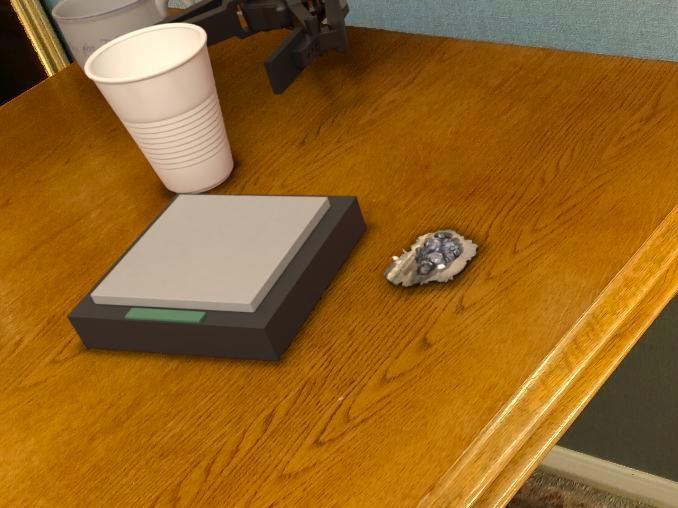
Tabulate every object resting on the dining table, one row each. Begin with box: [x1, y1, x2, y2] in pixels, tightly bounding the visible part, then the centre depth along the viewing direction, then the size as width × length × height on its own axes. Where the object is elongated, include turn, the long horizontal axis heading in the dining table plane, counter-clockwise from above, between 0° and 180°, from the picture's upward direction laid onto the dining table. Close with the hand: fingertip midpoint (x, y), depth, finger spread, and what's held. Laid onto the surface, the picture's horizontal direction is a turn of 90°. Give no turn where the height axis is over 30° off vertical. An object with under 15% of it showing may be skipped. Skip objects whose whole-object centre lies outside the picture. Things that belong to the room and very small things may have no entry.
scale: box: [66, 192, 367, 362], centre depth 74 cm, size 16×16×4 cm
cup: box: [84, 23, 234, 194], centre depth 83 cm, size 10×10×11 cm
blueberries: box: [382, 229, 479, 288], centre depth 72 cm, size 7×8×2 cm
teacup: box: [51, 0, 197, 73], centre depth 101 cm, size 14×11×8 cm
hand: (203, 80), depth 86 cm, fingers open, 13 cm apart
